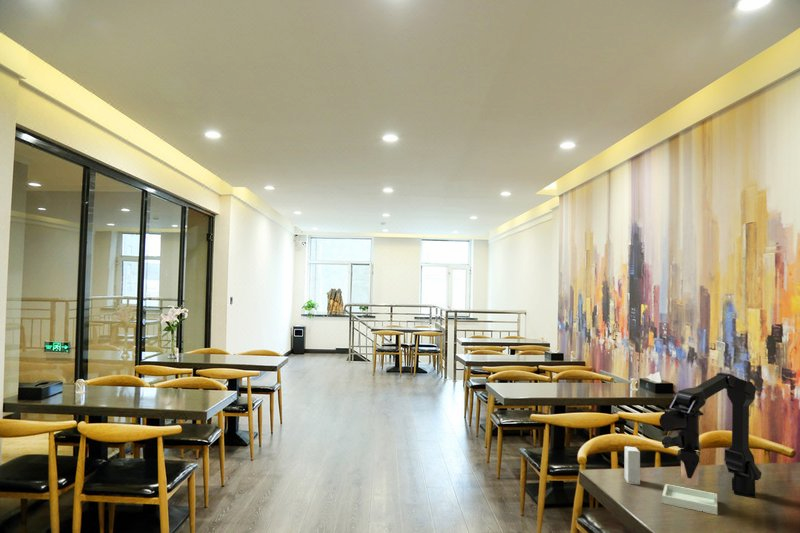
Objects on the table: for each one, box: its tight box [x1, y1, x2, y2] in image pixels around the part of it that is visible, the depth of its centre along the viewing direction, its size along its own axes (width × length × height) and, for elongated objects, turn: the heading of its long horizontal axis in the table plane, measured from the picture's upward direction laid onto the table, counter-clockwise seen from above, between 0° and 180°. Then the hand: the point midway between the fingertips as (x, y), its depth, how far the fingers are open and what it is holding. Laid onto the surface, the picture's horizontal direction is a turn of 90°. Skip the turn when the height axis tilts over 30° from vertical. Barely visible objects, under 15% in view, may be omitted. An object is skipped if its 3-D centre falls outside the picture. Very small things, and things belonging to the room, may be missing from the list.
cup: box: [680, 460, 699, 486], centre depth 169 cm, size 5×5×7 cm
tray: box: [661, 483, 718, 515], centre depth 169 cm, size 16×13×2 cm
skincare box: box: [623, 445, 641, 486], centre depth 187 cm, size 6×4×12 cm
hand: (689, 475), depth 169 cm, fingers closed on cup, 5 cm apart
